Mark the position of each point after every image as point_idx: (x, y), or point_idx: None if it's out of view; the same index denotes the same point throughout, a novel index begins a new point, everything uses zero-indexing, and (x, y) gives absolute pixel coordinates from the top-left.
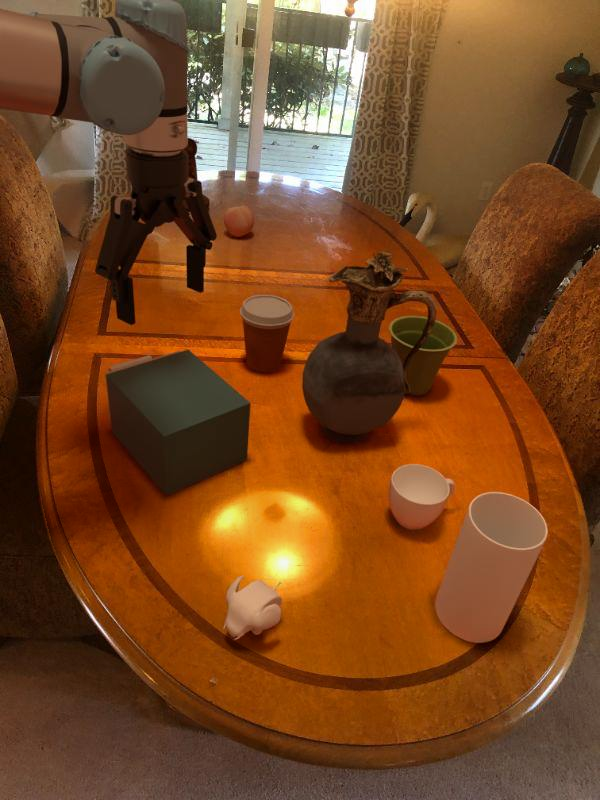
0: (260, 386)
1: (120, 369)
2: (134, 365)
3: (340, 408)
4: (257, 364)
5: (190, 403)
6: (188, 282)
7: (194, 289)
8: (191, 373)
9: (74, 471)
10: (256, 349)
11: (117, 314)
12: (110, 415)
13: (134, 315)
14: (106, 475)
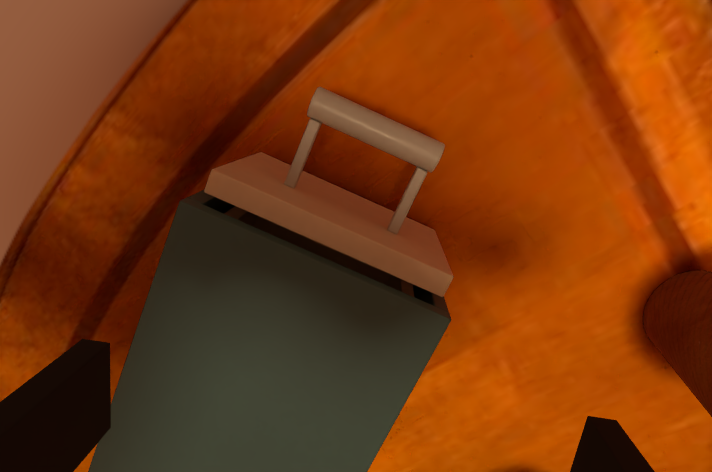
0: (584, 351)
1: (255, 195)
2: (298, 215)
3: None
4: (653, 331)
5: (224, 458)
6: (599, 451)
7: (574, 469)
8: (339, 395)
9: (113, 190)
10: (678, 353)
11: (68, 354)
12: None
13: (82, 456)
14: (144, 249)
